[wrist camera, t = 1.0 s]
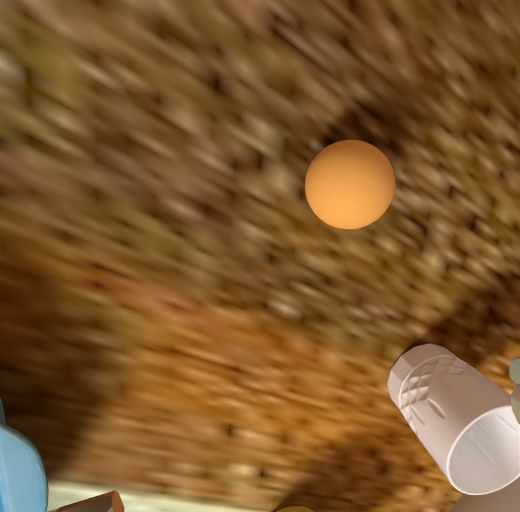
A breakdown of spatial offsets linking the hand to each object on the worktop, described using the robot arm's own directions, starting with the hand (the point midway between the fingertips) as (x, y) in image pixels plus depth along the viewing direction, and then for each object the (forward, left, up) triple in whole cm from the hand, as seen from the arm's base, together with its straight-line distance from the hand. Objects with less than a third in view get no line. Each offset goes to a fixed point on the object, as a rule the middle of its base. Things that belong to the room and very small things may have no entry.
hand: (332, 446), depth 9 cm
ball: (+2, +10, -23) cm, 25 cm away
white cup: (+22, +16, -26) cm, 38 cm away
